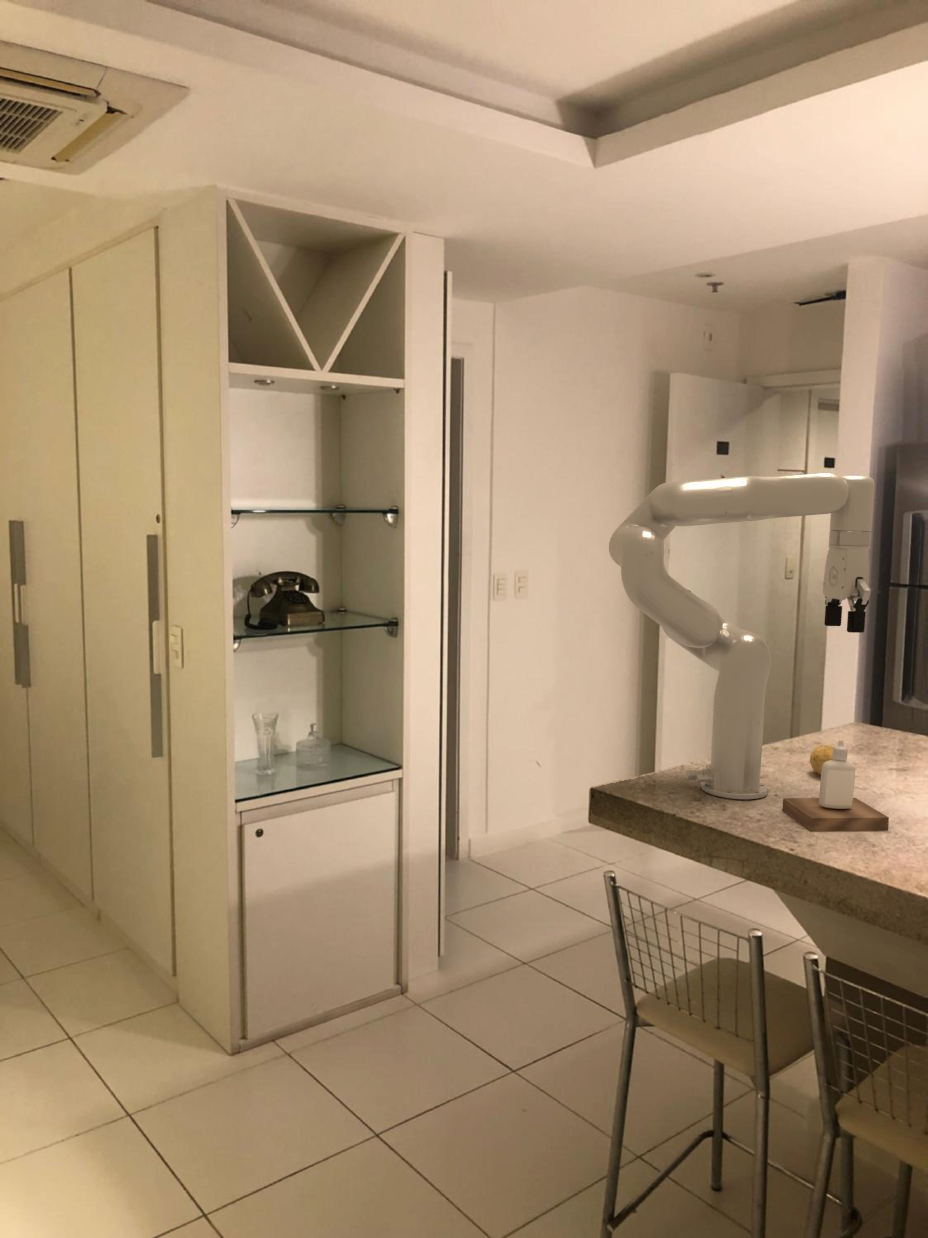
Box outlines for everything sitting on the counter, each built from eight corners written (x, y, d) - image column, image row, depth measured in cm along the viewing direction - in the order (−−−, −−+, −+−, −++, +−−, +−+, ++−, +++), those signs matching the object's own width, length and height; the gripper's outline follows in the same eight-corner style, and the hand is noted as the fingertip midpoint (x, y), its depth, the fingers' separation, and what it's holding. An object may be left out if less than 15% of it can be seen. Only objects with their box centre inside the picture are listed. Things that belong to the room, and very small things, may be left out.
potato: (806, 779, 210) (808, 749, 210) (811, 767, 220) (813, 738, 220) (841, 784, 208) (843, 753, 207) (844, 771, 218) (846, 742, 217)
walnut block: (810, 835, 177) (812, 818, 176) (782, 814, 189) (783, 798, 188) (887, 834, 178) (888, 817, 178) (854, 813, 190) (855, 797, 190)
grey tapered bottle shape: (851, 811, 180) (857, 744, 179) (817, 806, 182) (823, 740, 181) (852, 807, 184) (858, 741, 183) (819, 802, 186) (825, 736, 185)
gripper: (811, 538, 204) (806, 623, 206) (851, 542, 187) (845, 634, 189) (848, 539, 205) (842, 623, 207) (890, 542, 188) (884, 635, 190)
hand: (843, 629), depth 198 cm, fingers open, 9 cm apart
